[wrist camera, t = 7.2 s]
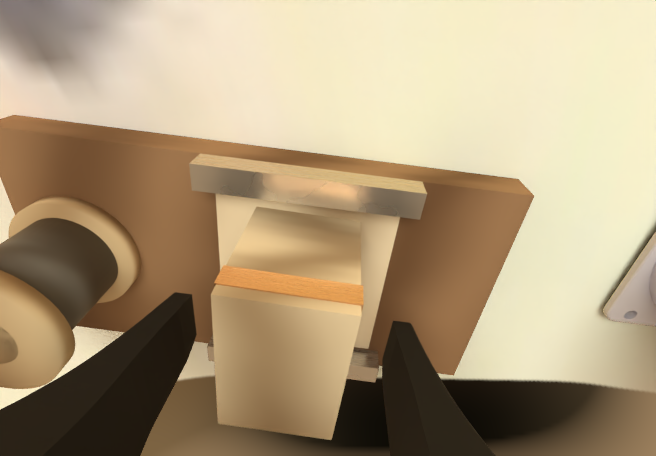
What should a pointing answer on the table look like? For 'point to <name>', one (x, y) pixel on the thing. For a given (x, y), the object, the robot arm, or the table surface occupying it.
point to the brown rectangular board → (283, 194)
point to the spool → (56, 283)
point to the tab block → (287, 322)
